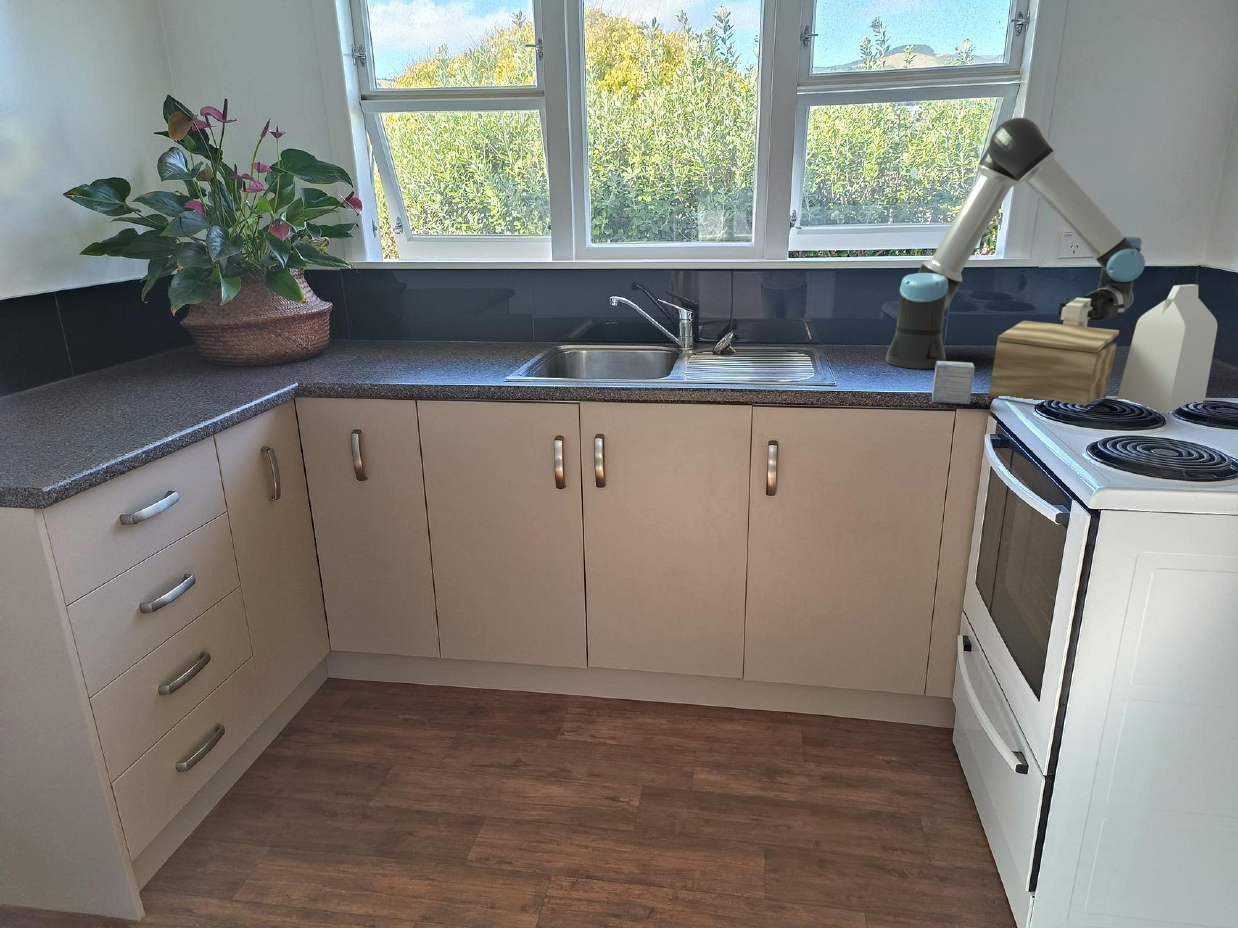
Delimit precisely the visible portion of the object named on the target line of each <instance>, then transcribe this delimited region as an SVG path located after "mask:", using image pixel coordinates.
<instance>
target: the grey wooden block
mask: <svg viewBox="0 0 1238 928" xmlns="http://www.w3.org/2000/svg"><path fill="white" fill-rule="evenodd" d="M974 373H975V365H974V363H973V362H965V361H947V360H945V361H936V367H935V368H934V376H933V384H932V391H931V392H932V393H931V401H932V403H945V404H946V403H947V404H959V405H960V404H962V405H970V404H971V395H972V388H973V381H974V375H975V374H974Z"/></svg>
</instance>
